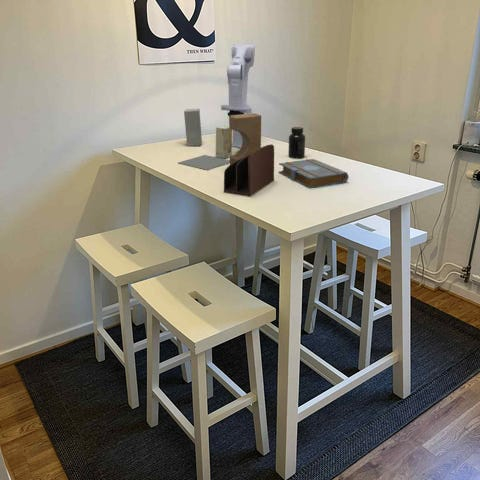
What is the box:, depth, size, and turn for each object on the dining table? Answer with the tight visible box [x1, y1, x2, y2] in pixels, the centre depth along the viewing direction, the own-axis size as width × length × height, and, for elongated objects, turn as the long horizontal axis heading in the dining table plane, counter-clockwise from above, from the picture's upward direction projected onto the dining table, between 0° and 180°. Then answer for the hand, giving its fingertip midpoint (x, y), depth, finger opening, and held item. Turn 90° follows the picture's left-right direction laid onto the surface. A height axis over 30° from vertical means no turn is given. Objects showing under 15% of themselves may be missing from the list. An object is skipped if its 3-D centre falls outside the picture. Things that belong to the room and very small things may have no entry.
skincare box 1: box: [183, 108, 203, 147], centre depth 220 cm, size 8×7×16 cm
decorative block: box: [228, 112, 262, 165], centre depth 183 cm, size 11×6×20 cm, turn 117°
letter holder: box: [223, 143, 275, 197], centre depth 163 cm, size 10×20×14 cm, turn 153°
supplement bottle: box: [288, 126, 306, 159], centre depth 200 cm, size 7×7×12 cm
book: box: [278, 158, 349, 190], centre depth 175 cm, size 21×16×5 cm
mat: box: [177, 154, 230, 171], centre depth 194 cm, size 16×16×1 cm
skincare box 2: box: [215, 125, 233, 159], centre depth 199 cm, size 6×4×12 cm
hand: (235, 129), depth 203 cm, fingers closed
